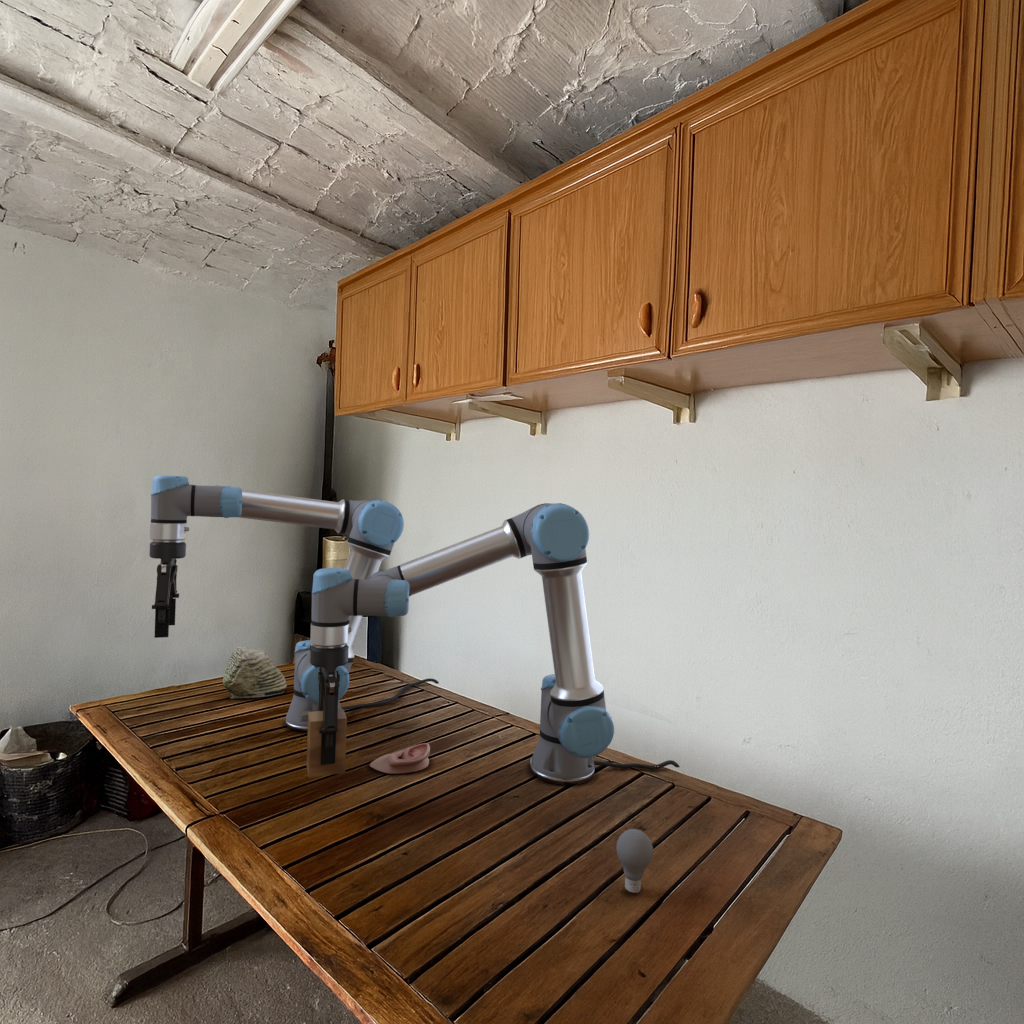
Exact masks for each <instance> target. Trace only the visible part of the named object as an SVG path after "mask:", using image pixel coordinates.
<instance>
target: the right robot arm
mask: <svg viewBox="0 0 1024 1024" xmlns="http://www.w3.org/2000/svg"><path fill="white" fill-rule="evenodd" d="M589 540H590V529H589V525H588V522H587V520H586V518H585V517H584V515H583V514H582V513H581V512H580V511H579V510H577V509H576V508H575V507H573V506H571V505H569V504H566V503H562V502H557V503H555V502H553V503H547V502H544V503H540V504H537V505H535V506H533V507H531V508H529V509H527V510H525V511H523V512H521V513H518V514H517V515H514V516H513V517H509V518H507V519H505V520H503V522H502V524H501V526H499V527H495V528H493V529H491V530H488V531H485V532H483V533H479V534H478V535H475V536H472V537H470V538H467V539H464V540H461V541H459V542H457V543H454V544H451V545H449V546H445V547H443V548H440V549H438V550H435V551H433V552H430V553H427V554H425V555H422V556H419V557H417V558H414V559H412V560H409V561H406V562H403V563H401V564H398V565H396V566H393V567H391V568H388V569H382V570H378V572H376V573H374V574H373V575H372V576H371V577H370V578H369V579H352V576H351V572H350V570H348V569H344V567H343V568H341V567H340V568H339V567H326V568H324V567H323V568H319V569H317V570H316V571H315V572H313V576H312V577H313V579H312V590H311V622H310V639H309V640H310V642H311V644H313V645H312V647H311V648H310V663H311V664H312V665H313V666H316V667H320V668H319V671H320V672H318V680H319V686H318V687H319V706H318V711H323V729H322V730H319V734H321V733H322V737H321V765H326V764H334V763H335V749H336V732H337V731H338V727H337V722H338V694H339V682H340V674H338V671H336V668H337V667H338V666H343V665H345V664H346V663H347V662H348V653H349V646H348V645H347V644H346V643H348V641H349V634H348V632H351V631H352V628H351V627H349V618H350V616H362V617H389V618H393V617H403V616H407V614H409V609H410V608H409V607H410V597H411V596H414V595H416V594H419V593H422V592H424V591H427V590H430V589H433V588H435V587H437V586H440V585H443V584H445V583H448V582H450V581H454V580H455V579H458V578H461V577H464V576H466V575H469V574H472V573H474V572H476V571H479V570H481V569H482V570H483V569H484V568H486V567H489V566H492V565H495V564H497V563H500V562H503V561H506V560H508V559H510V558H515V559H518V560H520V559H523V558H526V557H528V556H531V559H532V565H533V566H532V567H533V571H534V572H536V573H537V574H538V575H540V576H541V580H542V589H543V595H544V597H543V598H544V605H545V611H546V618H547V626H548V627H547V628H548V635H549V641H550V648H551V649H550V650H551V657H552V664H553V665H552V666H553V672H554V673H553V674H547V675H545V676H544V677H543V678H542V681H541V687H540V690H541V691H540V692H541V694H540V716H539V737H538V741H537V743H536V746H535V748H534V751H533V754H532V756H531V757H530V760H529V764H530V772H531V774H533V776H534V777H536V778H537V779H539V780H542V781H543V782H546V783H549V784H554V785H561V786H562V785H564V786H573V785H574V786H575V785H581V784H584V783H588V782H589V781H591V780H592V779H594V776H595V770H596V769H595V767H596V766H601V767H609V768H615V769H635V768H636V769H643V770H650V771H653V770H655V771H656V770H659V769H662V768H665V767H666V766H670V765H671V766H674V767H675V768H681V766H680V765H679V763H678V762H676V761H675V760H671V759H670V760H669V759H667V760H665V761H662V762H661V763H657V764H654V765H651V764H644V763H636V762H633V763H631V762H630V763H616V762H609V761H602V760H601V761H600V760H594V758H595V757H597V756H599V755H601V754H602V753H603V752H604V751H606V749H607V748H608V747H609V745H611V744H612V741H613V739H614V735H615V724H614V721H613V719H612V716H611V714H610V713H609V712H608V711H607V704H606V698H605V691H604V685H603V684H602V683H601V682H599V681H598V680H596V675H595V669H594V660H593V653H592V645H591V644H592V643H591V637H590V629H589V628H590V627H589V622H588V621H589V620H588V614H587V612H588V611H587V605H586V598H585V591H584V582H583V575H582V574H583V573H582V572H583V570H584V568H585V567H586V566H587V564H588V556H587V550H586V549H587V546H588V543H589ZM655 766H656V767H655ZM657 766H659V767H657Z"/></svg>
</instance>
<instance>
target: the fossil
mask: <svg viewBox="0 0 1024 1024" xmlns="http://www.w3.org/2000/svg"><path fill="white" fill-rule="evenodd" d="M222 676H223V677H222V685H223V687H224V688H225V690H226V691H228V693H229V698H230V699H250V698H264V697H271V696H275V695H281V694H284V693H285V691H286V689H287V687H288V686H287V680H286V678H285V676H284V674H283V673H282V672H281V669H279V668H278V667H277V665H276V663H275V662H274V660H273V659H272V658H271V657H270V656H269V655H268V654H267V653H266V652H265V650H264V649H263V648H260V647H258V648H251V647H247V646H246V647H245V646H238V647H237V648H236V649H235V650H233V651H232V653H231V656H230V657H229V659H228V660H227V663H226V666H225V668H224V671H223V675H222Z"/></svg>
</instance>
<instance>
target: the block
mask: <svg viewBox="0 0 1024 1024" xmlns="http://www.w3.org/2000/svg"><path fill="white" fill-rule="evenodd" d="M337 727H338V731H337V732H336V749H335V763H334V764H326V765H321V737H322V733H321V734H319V730H322V729H323V711H314V712H308V732H306V733H307V736H306V738H307V739H306V771H307V776H308V778H315V777H324V776H333V775H339V774H346V762H347V732H348V731H347V730H348V718H347V715H346V712H345V710H343V709H338V722H337Z"/></svg>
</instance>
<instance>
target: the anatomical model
mask: <svg viewBox="0 0 1024 1024" xmlns="http://www.w3.org/2000/svg"><path fill="white" fill-rule="evenodd" d="M430 751H431V745H430V744H429V743H427V742H424V743H423V742H422V743H419V744H415V745H412V746H408V747H406V748H403V749H401V750H397V751H395V752H392V753H387V754H384V755H382V756H380V757H377V758H376V759H374V760H373V761H371V762H370V763H369V767H370V768H372V769H373V770H375V771H378V772H380V773H384V774H389V775H390V774H391V775H392V774H395V775H396V774H409V773H414V772H418V771H421V770H424V769H426V768H427V767H429V764H430V759H429V755H430Z"/></svg>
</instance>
